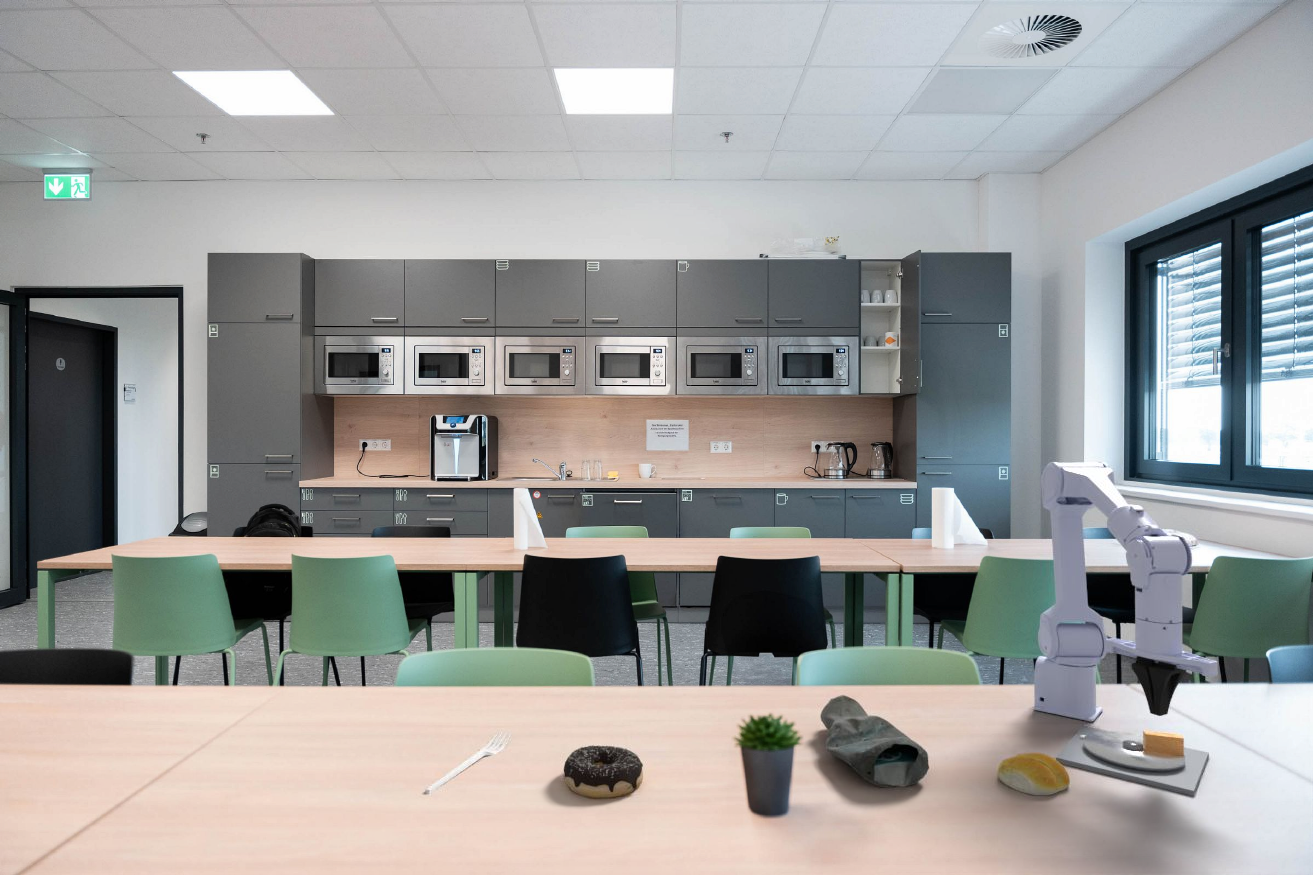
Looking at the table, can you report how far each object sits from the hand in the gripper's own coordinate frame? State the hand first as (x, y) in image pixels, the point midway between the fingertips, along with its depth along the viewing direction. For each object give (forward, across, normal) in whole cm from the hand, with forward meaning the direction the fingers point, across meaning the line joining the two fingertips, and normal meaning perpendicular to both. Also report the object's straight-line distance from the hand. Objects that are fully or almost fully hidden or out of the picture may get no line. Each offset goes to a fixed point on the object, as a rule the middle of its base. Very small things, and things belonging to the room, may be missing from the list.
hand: (1158, 713), depth 112 cm
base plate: (+8, +4, -1) cm, 10 cm away
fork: (+9, +49, +87) cm, 101 cm away
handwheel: (+8, +4, -1) cm, 10 cm away
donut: (+9, +35, +72) cm, 81 cm away
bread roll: (+9, +6, +19) cm, 22 cm away
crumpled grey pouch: (+9, +24, +33) cm, 42 cm away
